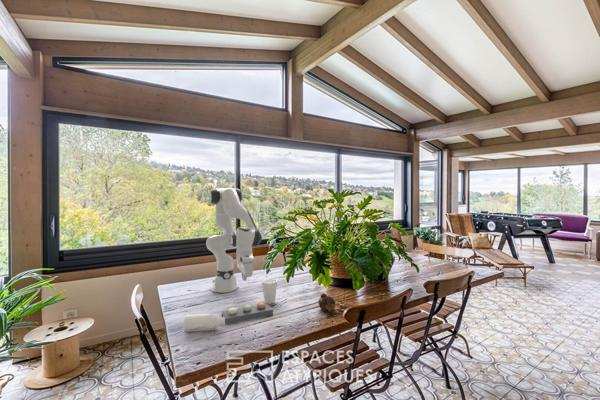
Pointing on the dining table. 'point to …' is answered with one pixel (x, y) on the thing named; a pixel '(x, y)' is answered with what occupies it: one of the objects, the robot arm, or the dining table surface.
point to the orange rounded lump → (261, 305)
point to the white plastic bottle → (202, 322)
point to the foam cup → (269, 290)
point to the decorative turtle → (326, 303)
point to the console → (247, 314)
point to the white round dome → (232, 310)
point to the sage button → (247, 308)
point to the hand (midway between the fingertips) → (244, 279)
